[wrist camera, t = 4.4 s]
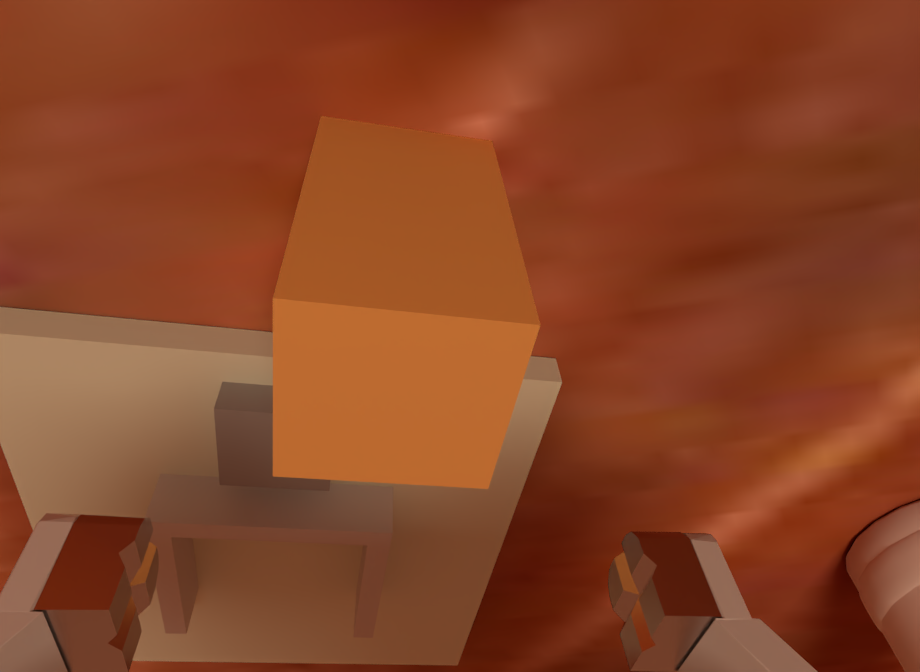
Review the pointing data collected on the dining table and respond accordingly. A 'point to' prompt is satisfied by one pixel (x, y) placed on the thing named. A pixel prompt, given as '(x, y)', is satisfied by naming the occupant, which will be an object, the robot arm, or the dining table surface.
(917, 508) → the bottle
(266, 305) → the dining table surface
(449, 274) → the orange rectangular block
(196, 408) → the mount deck
